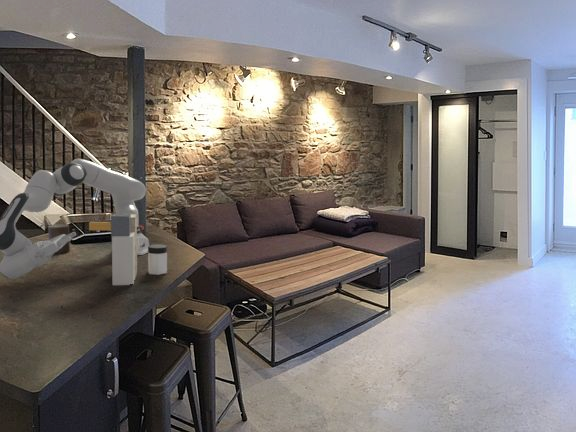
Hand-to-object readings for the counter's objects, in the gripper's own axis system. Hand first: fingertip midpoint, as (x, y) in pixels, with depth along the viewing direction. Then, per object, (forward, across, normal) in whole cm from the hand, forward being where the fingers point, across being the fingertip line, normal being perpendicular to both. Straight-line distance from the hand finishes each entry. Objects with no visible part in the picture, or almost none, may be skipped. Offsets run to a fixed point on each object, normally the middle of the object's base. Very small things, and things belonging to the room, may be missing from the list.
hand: (72, 235), depth 191 cm
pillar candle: (-26, +59, +8) cm, 65 cm away
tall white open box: (+7, 0, +26) cm, 27 cm away
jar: (+18, +14, +33) cm, 40 cm away
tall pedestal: (+7, +11, +26) cm, 30 cm away
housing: (+12, 0, +7) cm, 14 cm away
